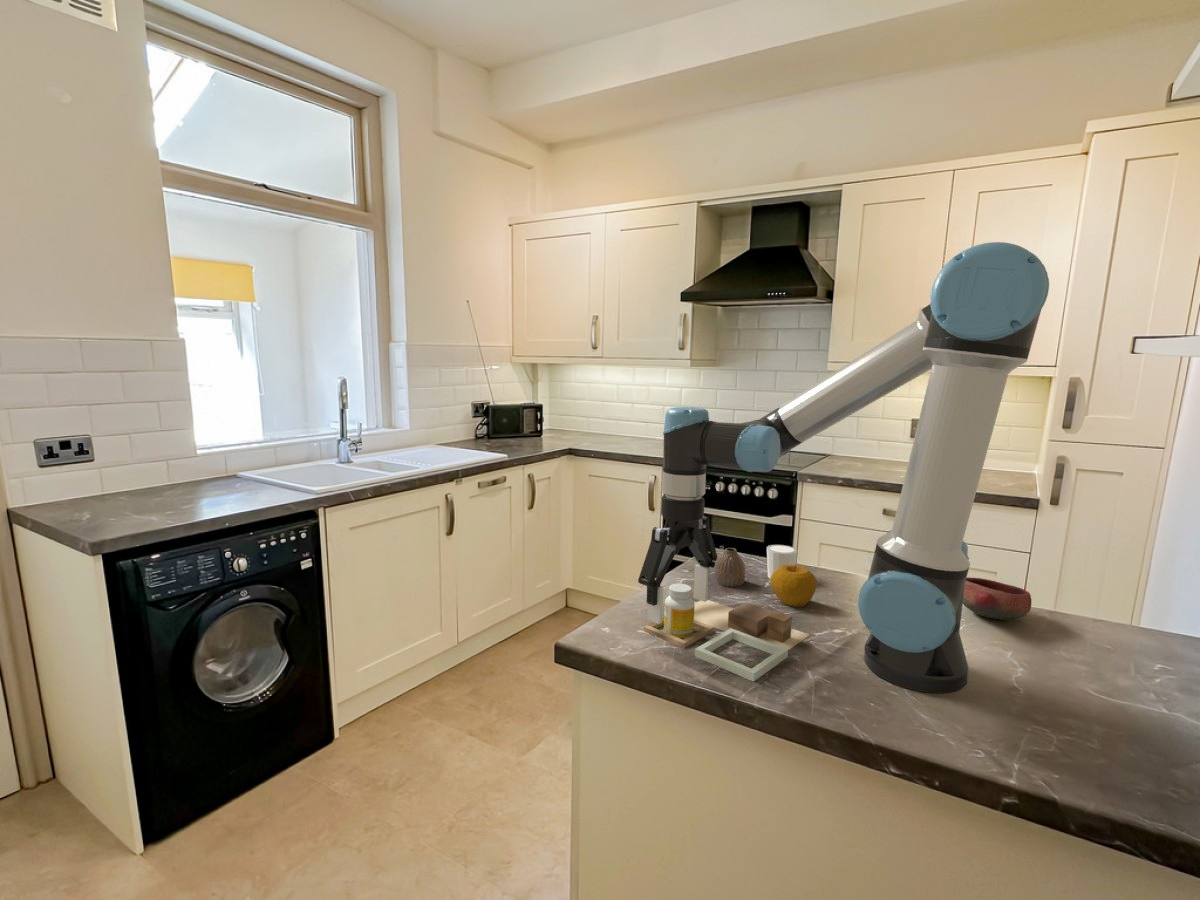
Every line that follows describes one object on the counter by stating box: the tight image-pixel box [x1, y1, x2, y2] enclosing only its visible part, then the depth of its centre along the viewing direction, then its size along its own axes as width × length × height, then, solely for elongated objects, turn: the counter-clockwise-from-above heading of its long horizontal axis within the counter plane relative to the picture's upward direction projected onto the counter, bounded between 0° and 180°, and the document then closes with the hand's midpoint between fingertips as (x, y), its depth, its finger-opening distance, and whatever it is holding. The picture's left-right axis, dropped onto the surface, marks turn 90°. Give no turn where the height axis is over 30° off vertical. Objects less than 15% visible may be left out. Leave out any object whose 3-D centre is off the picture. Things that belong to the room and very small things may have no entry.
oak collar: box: [643, 616, 715, 649], centre depth 107 cm, size 9×9×2 cm
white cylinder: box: [766, 544, 798, 579], centre depth 138 cm, size 7×7×7 cm
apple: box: [769, 564, 817, 608], centre depth 121 cm, size 9×9×9 cm
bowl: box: [962, 576, 1032, 621], centre depth 116 cm, size 16×13×8 cm
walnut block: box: [728, 602, 775, 638], centre depth 109 cm, size 6×6×3 cm
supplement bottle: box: [663, 583, 696, 639], centre depth 107 cm, size 5×5×10 cm
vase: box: [713, 547, 747, 588], centre depth 131 cm, size 7×7×9 cm
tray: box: [694, 628, 789, 682], centre depth 98 cm, size 11×11×2 cm
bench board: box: [694, 599, 811, 651], centre depth 111 cm, size 23×10×5 cm, turn 45°
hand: (678, 609), depth 107 cm, fingers open, 13 cm apart
